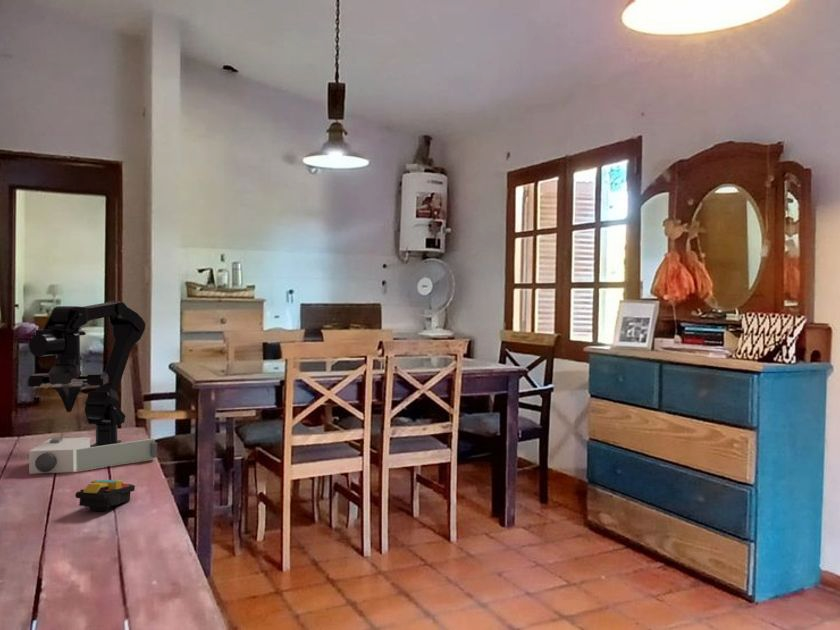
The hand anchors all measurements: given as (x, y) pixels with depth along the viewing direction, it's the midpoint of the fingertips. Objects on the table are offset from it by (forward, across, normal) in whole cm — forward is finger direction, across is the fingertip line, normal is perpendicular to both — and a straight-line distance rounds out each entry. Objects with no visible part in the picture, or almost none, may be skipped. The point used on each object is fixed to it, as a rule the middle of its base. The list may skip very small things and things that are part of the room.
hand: (69, 411), depth 188 cm
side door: (+12, +15, -13) cm, 23 cm away
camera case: (+12, +1, -10) cm, 16 cm away
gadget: (+12, +22, -47) cm, 53 cm away
